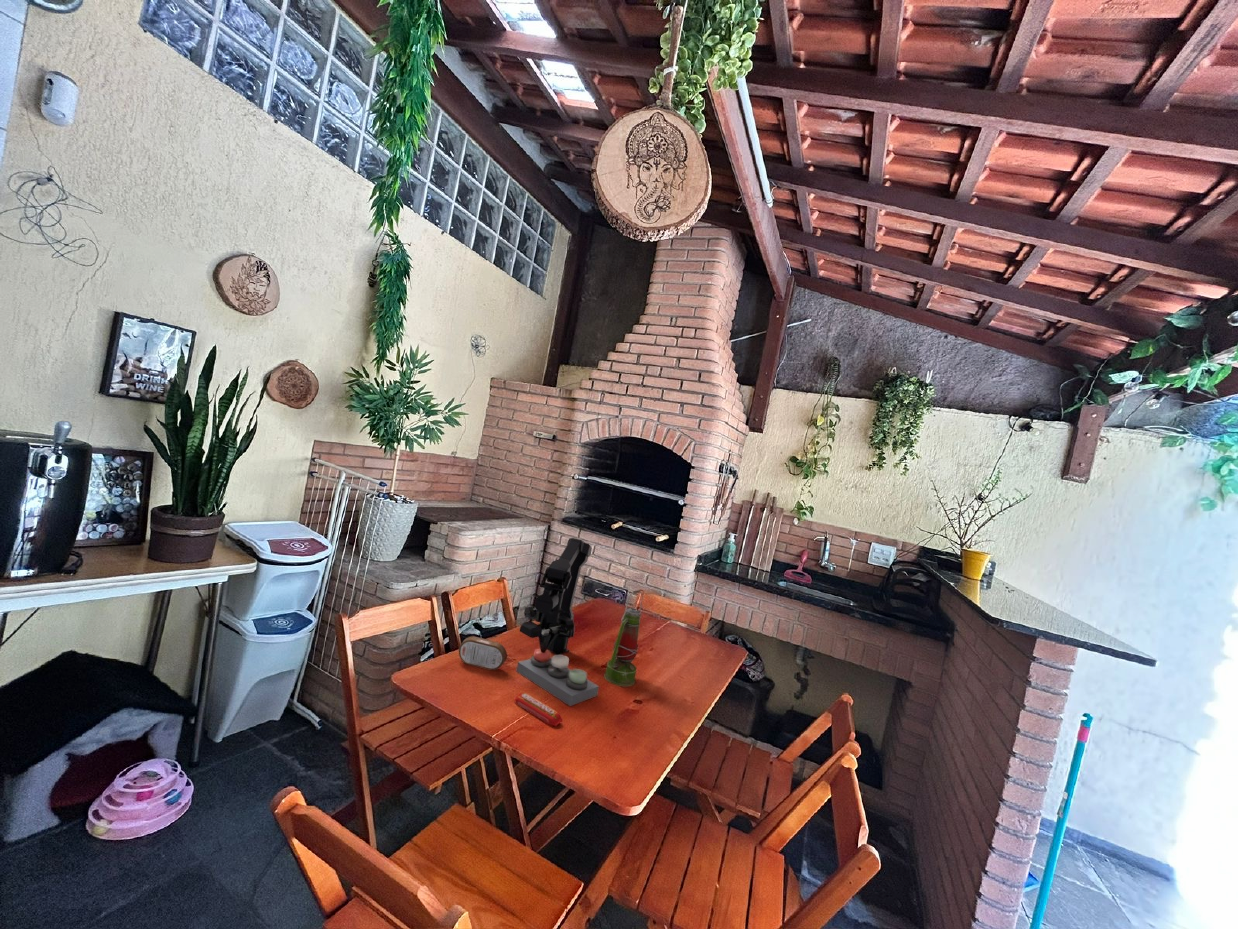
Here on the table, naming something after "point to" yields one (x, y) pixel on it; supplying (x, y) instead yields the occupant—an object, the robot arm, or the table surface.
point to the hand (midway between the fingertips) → (542, 652)
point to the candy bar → (538, 709)
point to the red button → (542, 655)
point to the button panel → (557, 681)
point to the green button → (578, 676)
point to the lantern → (625, 649)
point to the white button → (560, 661)
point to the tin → (482, 653)
